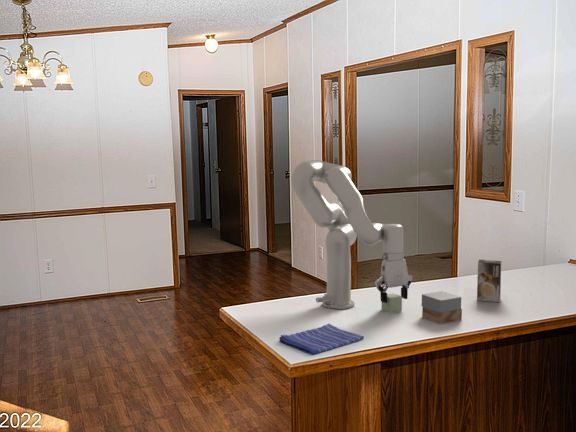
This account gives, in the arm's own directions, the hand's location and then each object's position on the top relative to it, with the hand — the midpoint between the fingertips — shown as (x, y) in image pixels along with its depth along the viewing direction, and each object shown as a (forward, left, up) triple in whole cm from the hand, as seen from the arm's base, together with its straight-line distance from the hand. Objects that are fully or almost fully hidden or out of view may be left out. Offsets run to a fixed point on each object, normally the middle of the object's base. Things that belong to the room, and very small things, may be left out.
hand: (394, 300), depth 237 cm
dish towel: (-43, -16, -5) cm, 46 cm away
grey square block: (+9, -16, 0) cm, 19 cm away
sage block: (-1, +1, -4) cm, 4 cm away
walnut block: (+9, -16, -5) cm, 19 cm away
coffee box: (+44, -5, -4) cm, 45 cm away
